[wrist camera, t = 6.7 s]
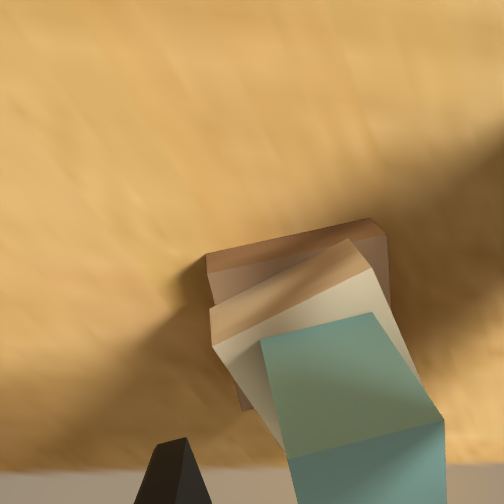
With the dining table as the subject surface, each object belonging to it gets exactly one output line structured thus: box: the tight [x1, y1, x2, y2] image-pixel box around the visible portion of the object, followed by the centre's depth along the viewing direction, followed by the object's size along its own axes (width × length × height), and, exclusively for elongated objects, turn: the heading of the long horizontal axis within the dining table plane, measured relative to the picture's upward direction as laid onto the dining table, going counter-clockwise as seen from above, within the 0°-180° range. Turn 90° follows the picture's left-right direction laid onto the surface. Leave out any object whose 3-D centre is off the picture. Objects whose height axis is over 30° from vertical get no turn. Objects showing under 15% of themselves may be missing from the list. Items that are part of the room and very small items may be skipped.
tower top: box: [209, 238, 424, 453], centre depth 18 cm, size 6×6×2 cm
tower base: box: [206, 218, 391, 411], centre depth 20 cm, size 7×7×2 cm
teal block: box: [260, 312, 447, 504], centre depth 14 cm, size 4×4×5 cm
